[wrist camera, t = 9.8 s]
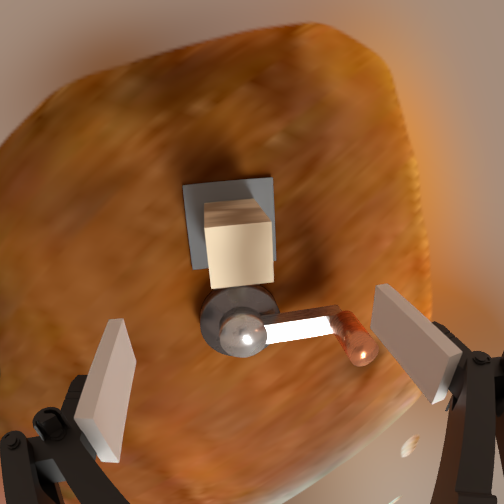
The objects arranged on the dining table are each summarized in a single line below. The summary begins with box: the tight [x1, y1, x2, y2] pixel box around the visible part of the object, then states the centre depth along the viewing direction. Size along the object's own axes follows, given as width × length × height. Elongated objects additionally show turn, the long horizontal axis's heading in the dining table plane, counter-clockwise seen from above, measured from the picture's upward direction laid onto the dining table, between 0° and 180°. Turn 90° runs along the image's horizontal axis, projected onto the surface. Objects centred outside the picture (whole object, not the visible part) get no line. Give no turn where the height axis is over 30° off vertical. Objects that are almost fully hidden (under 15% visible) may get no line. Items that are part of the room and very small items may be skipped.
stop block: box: [204, 199, 274, 289], centre depth 29 cm, size 5×5×9 cm
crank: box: [219, 305, 379, 366], centre depth 32 cm, size 15×5×8 cm, turn 94°
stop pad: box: [183, 177, 276, 270], centre depth 33 cm, size 9×9×1 cm
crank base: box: [200, 284, 280, 356], centre depth 37 cm, size 9×9×2 cm
